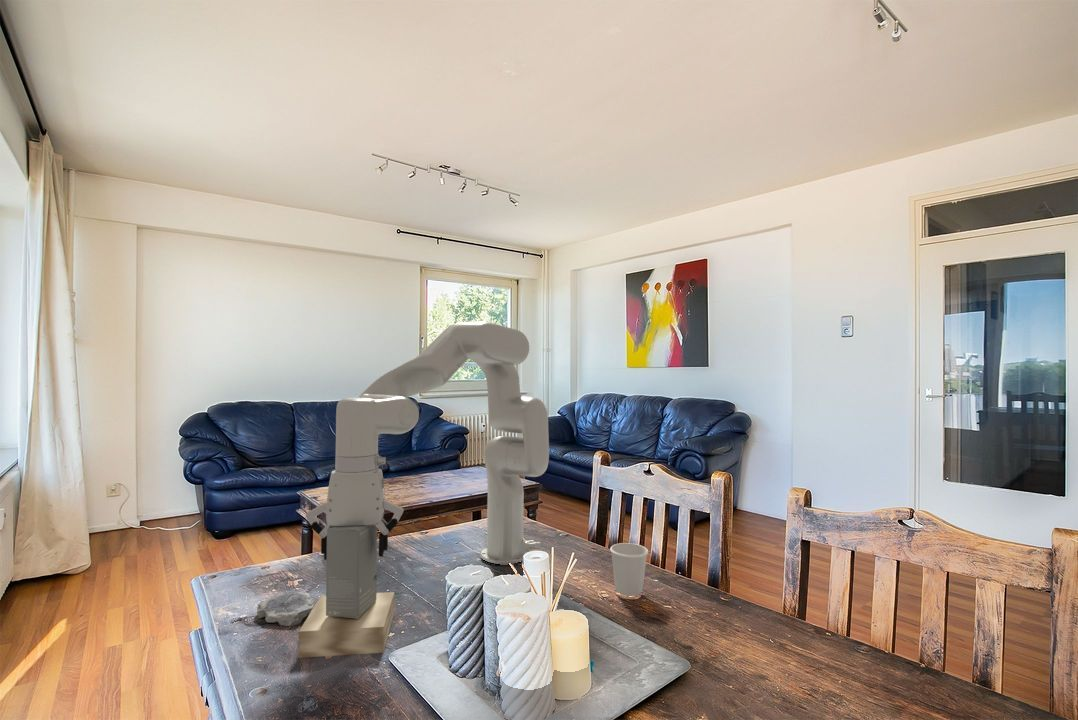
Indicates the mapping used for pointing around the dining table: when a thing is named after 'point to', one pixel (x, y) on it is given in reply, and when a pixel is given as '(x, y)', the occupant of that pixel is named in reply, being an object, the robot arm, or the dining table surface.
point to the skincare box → (351, 570)
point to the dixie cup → (629, 567)
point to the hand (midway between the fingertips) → (354, 555)
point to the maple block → (347, 630)
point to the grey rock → (286, 608)
